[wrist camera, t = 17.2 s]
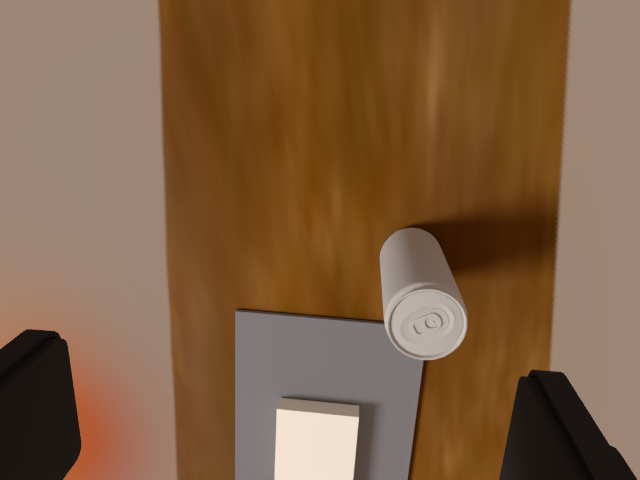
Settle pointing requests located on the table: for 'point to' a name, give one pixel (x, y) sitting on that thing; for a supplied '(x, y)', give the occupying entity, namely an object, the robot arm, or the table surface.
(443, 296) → the beverage can
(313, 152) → the table surface
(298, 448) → the tile
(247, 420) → the mat
